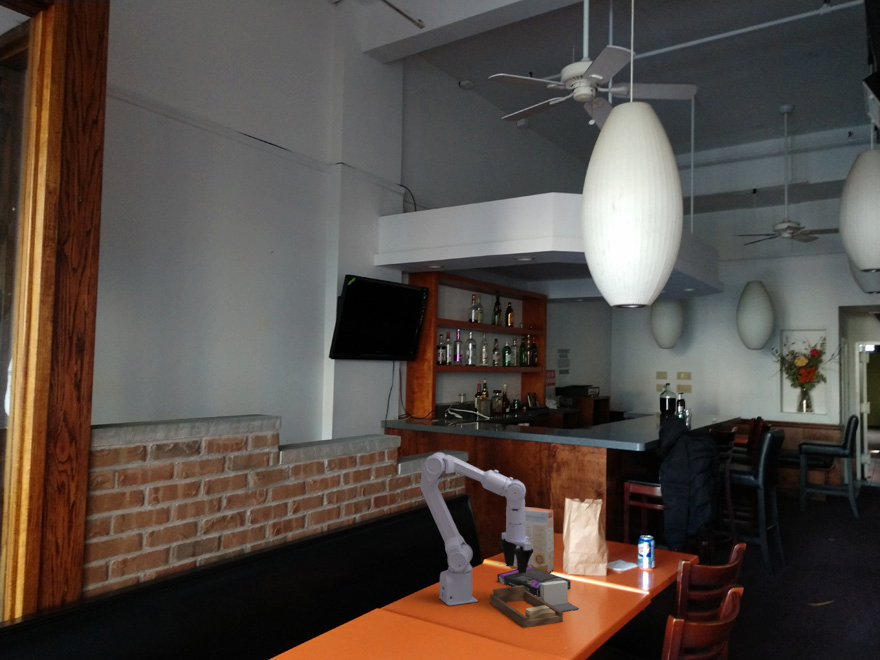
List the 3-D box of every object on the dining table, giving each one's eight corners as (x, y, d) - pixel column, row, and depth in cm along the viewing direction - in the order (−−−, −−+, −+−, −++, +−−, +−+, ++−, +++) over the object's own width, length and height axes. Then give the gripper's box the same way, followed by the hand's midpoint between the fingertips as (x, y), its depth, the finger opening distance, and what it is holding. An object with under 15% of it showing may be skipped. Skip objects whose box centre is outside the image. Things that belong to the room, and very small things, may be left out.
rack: (524, 627, 179) (524, 612, 179) (490, 603, 198) (490, 589, 198) (562, 621, 183) (562, 606, 183) (525, 598, 202) (525, 584, 202)
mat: (551, 613, 189) (551, 612, 189) (530, 600, 200) (530, 599, 201) (578, 609, 193) (578, 608, 193) (556, 596, 204) (556, 595, 204)
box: (497, 584, 219) (540, 599, 203) (496, 573, 219) (539, 587, 203) (527, 576, 227) (571, 590, 211) (527, 565, 227) (571, 578, 212)
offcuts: (527, 625, 180) (527, 611, 180) (522, 622, 183) (522, 608, 183) (556, 621, 183) (556, 607, 184) (551, 618, 186) (551, 604, 186)
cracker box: (554, 570, 231) (554, 509, 233) (547, 575, 226) (547, 512, 228) (517, 564, 239) (517, 504, 240) (510, 568, 234) (510, 507, 235)
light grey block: (544, 606, 194) (543, 585, 195) (540, 604, 196) (540, 583, 196) (567, 603, 197) (567, 582, 198) (564, 600, 199) (563, 580, 199)
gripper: (539, 526, 194) (540, 574, 193) (516, 516, 207) (516, 561, 206) (518, 528, 191) (518, 577, 190) (495, 518, 205) (495, 563, 204)
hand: (515, 569), depth 198 cm, fingers open, 7 cm apart
